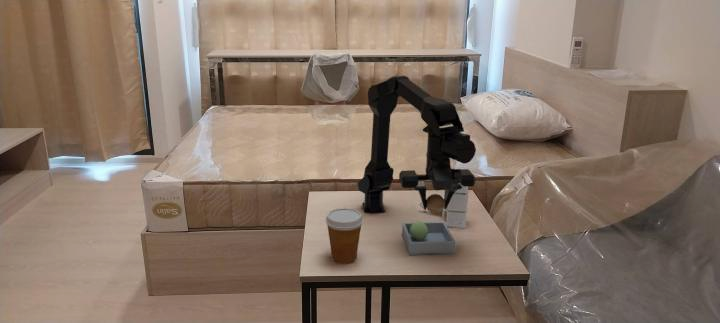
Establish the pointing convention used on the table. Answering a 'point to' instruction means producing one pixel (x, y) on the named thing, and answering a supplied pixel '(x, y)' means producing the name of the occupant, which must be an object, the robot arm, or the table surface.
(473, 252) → the table surface
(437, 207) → the walnut ball
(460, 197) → the syrup box
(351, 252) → the disposable coffee cup
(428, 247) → the bin
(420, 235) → the green ball
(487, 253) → the table surface
